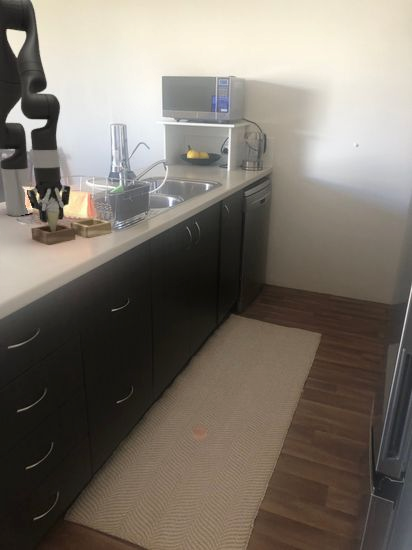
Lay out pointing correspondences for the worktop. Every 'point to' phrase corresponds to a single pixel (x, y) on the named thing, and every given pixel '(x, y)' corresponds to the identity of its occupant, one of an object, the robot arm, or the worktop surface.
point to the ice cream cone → (52, 213)
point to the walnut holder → (53, 234)
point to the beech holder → (91, 227)
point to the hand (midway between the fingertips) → (52, 220)
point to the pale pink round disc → (199, 432)
